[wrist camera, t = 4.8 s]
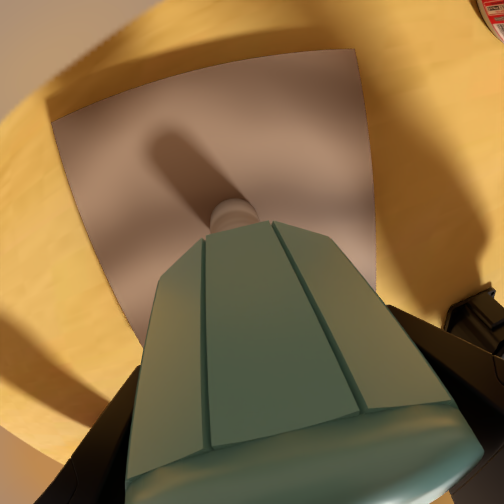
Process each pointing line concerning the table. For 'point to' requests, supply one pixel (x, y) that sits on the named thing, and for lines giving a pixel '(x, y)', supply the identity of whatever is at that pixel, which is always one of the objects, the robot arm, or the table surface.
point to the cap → (286, 384)
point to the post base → (221, 164)
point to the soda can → (493, 16)
